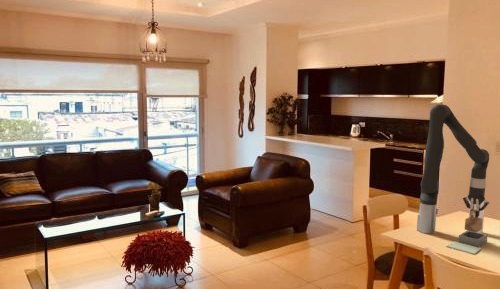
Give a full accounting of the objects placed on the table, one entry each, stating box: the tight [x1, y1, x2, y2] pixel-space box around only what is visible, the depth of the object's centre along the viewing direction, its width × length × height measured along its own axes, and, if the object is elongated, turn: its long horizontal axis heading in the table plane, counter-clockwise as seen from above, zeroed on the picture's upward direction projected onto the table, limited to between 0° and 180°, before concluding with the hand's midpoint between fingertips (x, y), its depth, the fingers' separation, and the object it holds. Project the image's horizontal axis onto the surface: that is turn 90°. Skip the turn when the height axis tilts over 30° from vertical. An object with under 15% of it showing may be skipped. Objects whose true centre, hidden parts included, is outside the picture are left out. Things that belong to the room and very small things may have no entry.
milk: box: [468, 201, 486, 234], centre depth 242 cm, size 6×6×22 cm
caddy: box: [464, 209, 483, 232], centre depth 226 cm, size 6×8×11 cm
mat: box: [445, 240, 482, 255], centre depth 219 cm, size 14×10×1 cm
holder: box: [458, 230, 488, 248], centre depth 227 cm, size 10×12×4 cm
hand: (474, 216), depth 226 cm, fingers closed on caddy, 1 cm apart
